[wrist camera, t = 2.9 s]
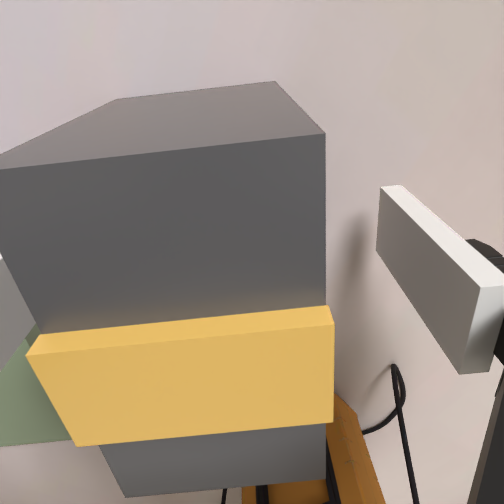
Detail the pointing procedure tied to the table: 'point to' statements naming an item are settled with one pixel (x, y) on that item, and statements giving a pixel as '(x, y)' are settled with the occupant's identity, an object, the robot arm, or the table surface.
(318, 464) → the block
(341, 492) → the multimeter
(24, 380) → the board
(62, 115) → the table surface
